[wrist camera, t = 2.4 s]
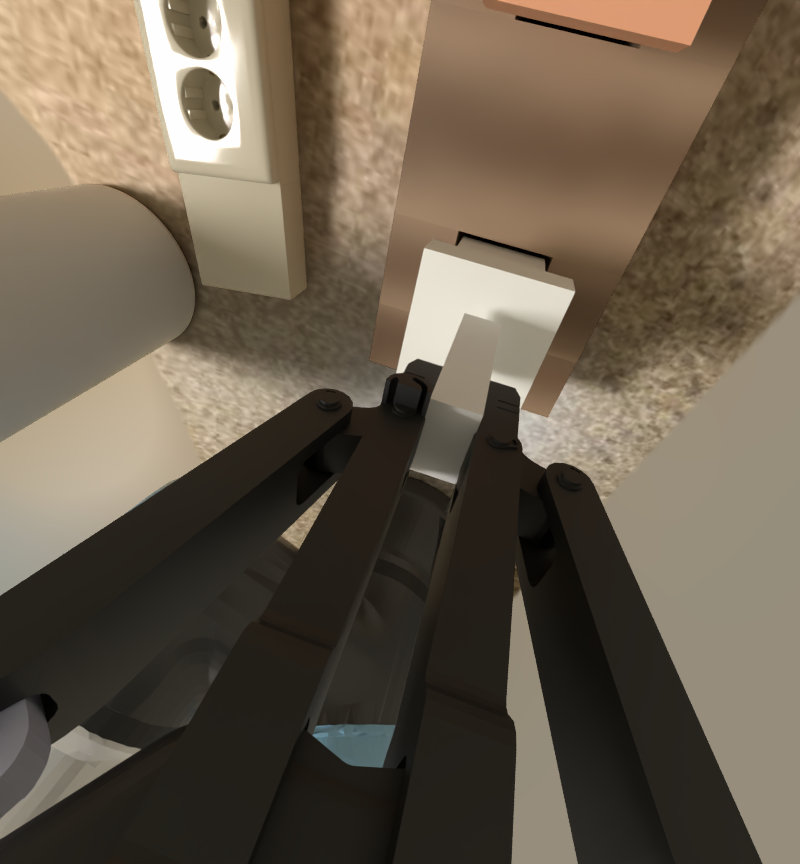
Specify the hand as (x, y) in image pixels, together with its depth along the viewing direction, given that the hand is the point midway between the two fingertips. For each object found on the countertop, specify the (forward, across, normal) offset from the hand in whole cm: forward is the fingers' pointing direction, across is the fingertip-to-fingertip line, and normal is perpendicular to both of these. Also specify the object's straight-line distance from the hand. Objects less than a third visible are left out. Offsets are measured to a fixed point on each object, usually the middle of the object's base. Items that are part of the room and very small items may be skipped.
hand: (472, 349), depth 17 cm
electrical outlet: (+14, +18, -3) cm, 23 cm away
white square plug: (+8, 0, 0) cm, 8 cm away
